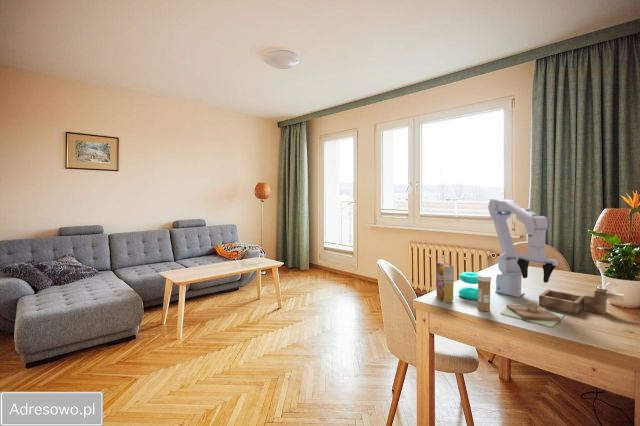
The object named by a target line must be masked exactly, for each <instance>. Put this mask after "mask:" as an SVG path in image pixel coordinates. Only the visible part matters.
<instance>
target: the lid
mask: <svg viewBox="0 0 640 426" xmlns="http://www.w3.org/2000/svg"><path fill="white" fill-rule="evenodd" d="M506 309H509V310H511V311H512V312H514V313H515V314H516V315H518V316H519V317H521V318H522V319H524V320H523V321H525V320H544V321H558V322H560V321H561V319H560V317H558V316H557V315H555V314H553V313H551V312H552V311H549V309H547V308H543V307H541V306H539V305H538V302H535V301H531V300H530V301H527V303H526V305H525V304H520V305H514V304H506Z"/></svg>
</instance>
